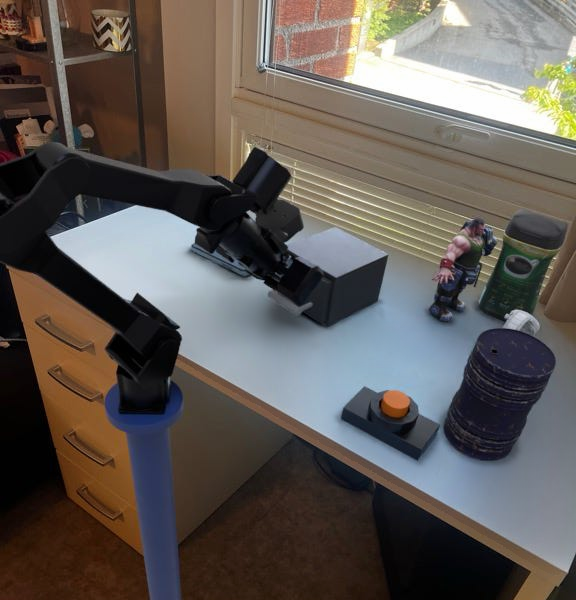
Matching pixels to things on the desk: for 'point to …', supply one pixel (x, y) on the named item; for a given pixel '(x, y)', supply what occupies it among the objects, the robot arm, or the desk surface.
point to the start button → (395, 403)
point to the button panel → (390, 423)
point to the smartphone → (220, 260)
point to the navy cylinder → (497, 393)
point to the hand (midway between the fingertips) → (290, 283)
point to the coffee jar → (522, 263)
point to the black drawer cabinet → (344, 270)
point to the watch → (522, 322)
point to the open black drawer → (309, 301)
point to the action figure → (461, 267)
